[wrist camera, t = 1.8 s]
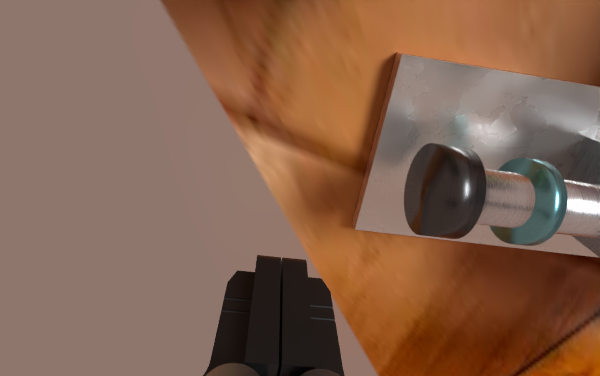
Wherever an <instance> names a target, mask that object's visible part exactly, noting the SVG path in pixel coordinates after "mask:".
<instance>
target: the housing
mask: <svg viewBox="0 0 600 376" xmlns="http://www.w3.org/2000/svg"><path fill="white" fill-rule="evenodd" d="M429 143H436V144H443V145H450V146H457V147H464V148H469V149H471V150H473V151H475V152H476V153H477V154H478V156H479V157H480V159H481V161H482V163H483V166H484V169H490V170H498V169H499V168H500V167H501V166H502V165H504V164H505V163H506V162H508V161H510V160H512V159H516V158H528V159H535V160H542V161H546V162H548V163H550V164H551V165H553V166H554V167H555V168H556V169H557V170H558V171H559V172H560V174H561V175H562V177H563V179H564V180H570V181H578V182H585V183H592V184H600V86H594V85H588V84H582V83H576V82H570V81H564V80H558V79H552V78H546V77H540V76H534V75H529V74H523V73H517V72H511V71H505V70H499V69H493V68H487V67H481V66H475V65H469V64H463V63H457V62H451V61H445V60H439V59H433V58H427V57H421V56H415V55H409V54H404V53H398V52H397V53H396V57H395V61H394V64H393V68H392V72H391V76H390V80H389V84H388V87H387V91H386V95H385V99H384V103H383V106H382V110H381V114H380V118H379V122H378V126H377V129H376V133H375V137H374V141H373V145H372V148H371V152H370V156H369V160H368V164H367V168H366V171H365V175H364V179H363V183H362V187H361V190H360V194H359V198H358V202H357V206H356V210H355V213H354V217H353V221H352V222H353V225H354V228H355V230H364V231H372V232H381V233H390V234H398V235H407V236H416V237H425V238H433V239H442V240H451V241H459V242H468V243H477V244H486V245H494V246H503V247H512V248H520V249H529V250H538V251H547V252H555V253H564V254H573V255H581V256H590V257H599V258H600V239H597V238H588V237H580V236H572V235H563V234H554V235H553V236H552V237H551V238H550V239H548V240H547V241H545V242H544V243H541V244H539V245H535V246H524V245H516V244H509V243H505V242H503V241H501V240H500V239H498V238H497V237H496V236H495V234H494V233H493V232H492V230H491V228H490V226H489V225H480V224H476V225H475V226H474V228H473V229H472V230H471V231H470V232H469V233H468V234H467V235H465V236H464V237H462V238H460V239H449V238H440V237H431V236H422V235H417V234H415V233H414V232H413V231H412V230H411V229H410V227H409V225H408V223H407V220H406V217H405V211H404V189H405V183H406V178H407V174H408V171H409V168H410V165H411V163H412V161H413V159H414V157H415V155H416V154H417V152H418V151H419V150H420V149H421V148H422V147H423V146H424V145H426V144H429Z"/></svg>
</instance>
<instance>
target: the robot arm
mask: <svg viewBox="0 0 600 376" xmlns="http://www.w3.org/2000/svg"><path fill="white" fill-rule="evenodd" d="M332 307H333V306H332V299H331V293H330V291H329V289H328V288H327V286H326V285H325V283H324V282H323V280H322V279H320V278H310V277H308V274H307V263H306V260H301V259H291V258H282V261H281V258H280V257H271V256H261V255H258V256H257V261H256V269H255V272H246V271H237V272H236V273H235V274H234V275H233V277H232V278H231V279H230V280H229V281H228V284H227V288H226V292H225V297H224V301H223V306H222V311H221V315H220V320H219V324H218V329H217V333H216V338H215V343H214V347H213V351H212V356H211V360H210V364H209V367H208V369H207V371H206V372H205V374H204V375H203V376H344V372H343V367H342V361H341V355H340V348H339V342H338V336H337V330H336V324H335V321H334V320H335V318H334V312H333V309H332Z"/></svg>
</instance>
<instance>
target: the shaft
mask: <svg viewBox="0 0 600 376" xmlns="http://www.w3.org/2000/svg"><path fill="white" fill-rule="evenodd" d="M404 211H405V217H406V220H407V223H408V225H409V227H410V229H411V230H412V231H413V232H414V233H415V234H417V235H422V236H431V237H440V238H449V239H460V238H462V237H464V236H465V235H467V234H468V233H469V232H470V231H471V230H472V229H473V228H474V226H475V225H476V224H480V225H489V226H490V228H491V230H492V232H493V233H494V234H495V236H496V237H497V238H498V239H500V240H501V241H503V242H505V243H509V244H516V245H524V246H535V245H539V244H541V243H544V242H545V241H547V240H548V239H550V238H551V237H552V236H553V235H554V234H563V235H572V236H580V237H588V238H597V239H600V184H592V183H585V182H578V181H570V180H564V179H563V177H562V175H561V174H560V172H559V171H558V170H557V169H556V168H555V167H554V166H553V165H551V164H550V163H548V162H546V161H542V160H535V159H528V158H516V159H512V160H510V161H508V162H506V163H505V164H504V165H502V166H501V167H500V168H499V169H498V170H490V169H484V166H483V163H482V161H481V159H480V157H479V156H478V154H477V153H476V152H475V151H473V150H471V149H469V148H464V147H457V146H450V145H443V144H436V143H429V144H426V145H424V146H423V147H422V148H421V149H420V150H419V151H418V152H417V154H416V155H415V157H414V159H413V161H412V163H411V165H410V168H409V171H408V174H407V178H406V183H405V189H404Z"/></svg>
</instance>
